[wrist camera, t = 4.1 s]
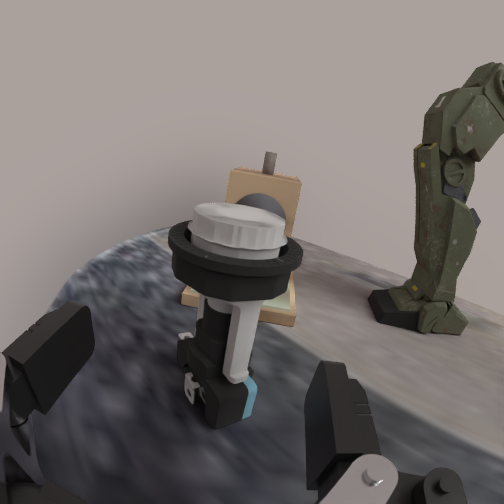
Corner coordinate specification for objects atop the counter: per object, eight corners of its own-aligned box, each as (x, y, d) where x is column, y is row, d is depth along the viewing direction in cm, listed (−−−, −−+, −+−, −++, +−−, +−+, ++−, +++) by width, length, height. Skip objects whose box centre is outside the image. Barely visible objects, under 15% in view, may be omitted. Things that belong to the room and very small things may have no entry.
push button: (144, 359, 16) (147, 191, 13) (220, 343, 19) (243, 194, 16) (190, 445, 11) (208, 240, 8) (280, 411, 14) (336, 235, 11)
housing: (220, 243, 38) (235, 146, 34) (289, 256, 38) (309, 159, 34) (181, 304, 23) (198, 142, 19) (293, 326, 23) (332, 165, 18)
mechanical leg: (346, 314, 24) (474, 24, 13) (337, 279, 31) (444, 44, 20) (449, 358, 24) (560, 113, 13) (428, 323, 31) (524, 115, 20)
